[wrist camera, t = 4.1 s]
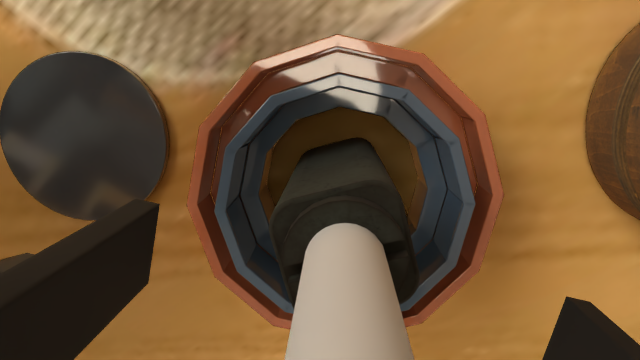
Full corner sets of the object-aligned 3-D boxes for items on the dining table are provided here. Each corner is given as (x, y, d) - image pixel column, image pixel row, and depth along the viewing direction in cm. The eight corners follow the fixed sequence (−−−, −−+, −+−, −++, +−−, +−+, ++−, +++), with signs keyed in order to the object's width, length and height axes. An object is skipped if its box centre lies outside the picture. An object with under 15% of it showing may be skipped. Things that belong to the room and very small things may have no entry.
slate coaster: (0, 198, 30) (-6, 200, 29) (10, 34, 28) (3, 33, 27) (157, 233, 30) (154, 236, 29) (180, 72, 28) (177, 72, 27)
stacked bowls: (197, 268, 30) (160, 316, 24) (239, 20, 27) (209, 0, 20) (431, 320, 31) (455, 382, 24) (505, 81, 27) (556, 80, 21)
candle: (388, 207, 29) (655, 866, 5) (314, 225, 29) (201, 907, 5) (370, 133, 28) (590, 472, 4) (294, 153, 28) (31, 571, 4)
